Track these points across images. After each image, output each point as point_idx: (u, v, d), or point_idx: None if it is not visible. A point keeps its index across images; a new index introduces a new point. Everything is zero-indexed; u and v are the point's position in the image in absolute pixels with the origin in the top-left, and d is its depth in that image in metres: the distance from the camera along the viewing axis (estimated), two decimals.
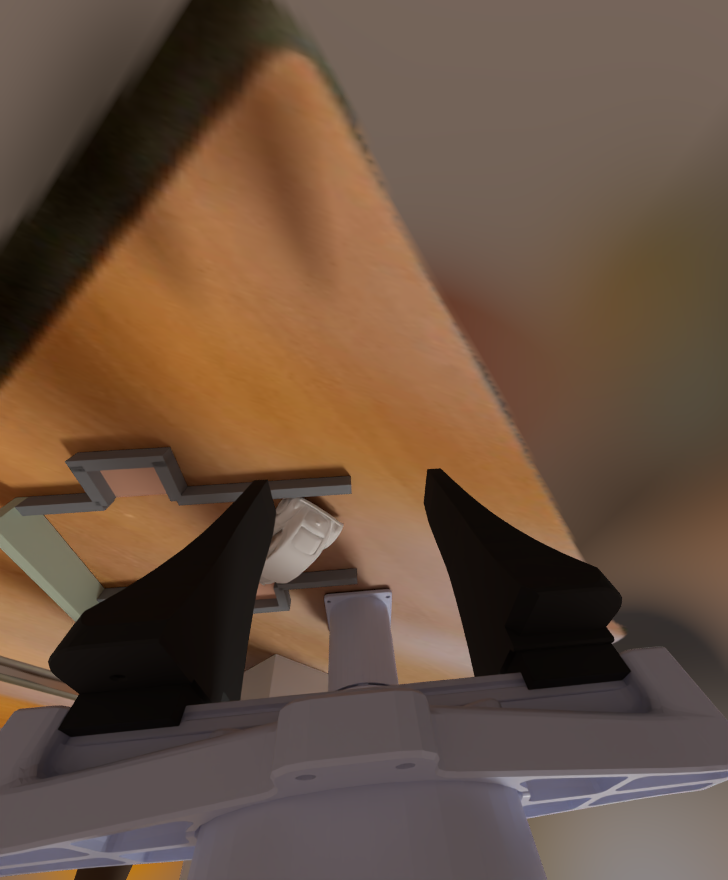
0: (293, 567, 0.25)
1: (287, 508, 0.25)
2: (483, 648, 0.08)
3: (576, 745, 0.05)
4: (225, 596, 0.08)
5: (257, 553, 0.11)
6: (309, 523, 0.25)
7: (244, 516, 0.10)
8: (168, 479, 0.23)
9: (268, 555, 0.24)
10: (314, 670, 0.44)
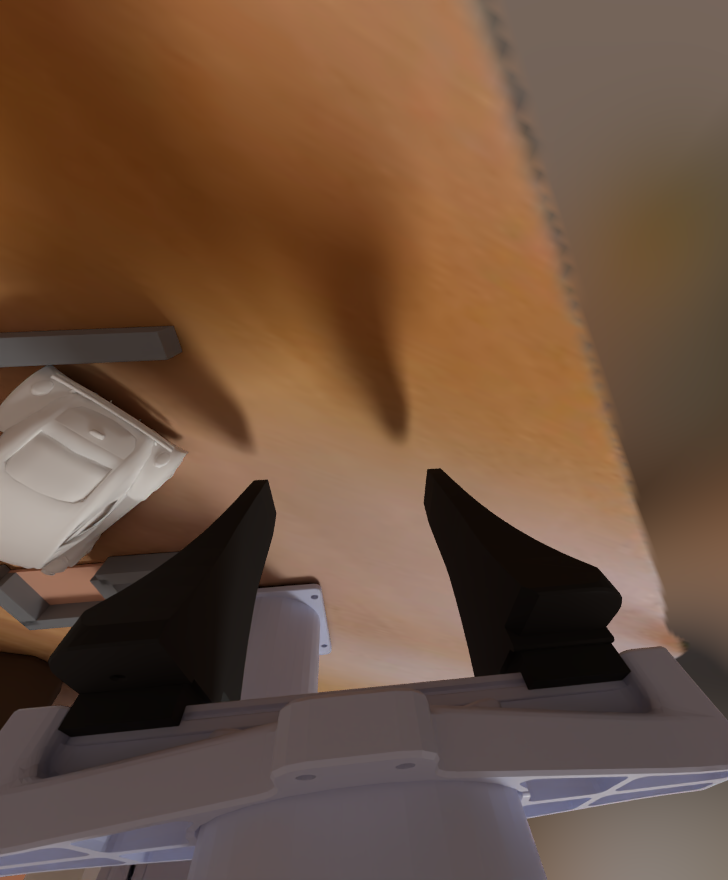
0: (28, 530, 0.11)
1: (15, 393, 0.11)
2: (483, 648, 0.08)
3: (576, 745, 0.05)
4: (225, 596, 0.08)
5: (257, 553, 0.11)
6: (68, 430, 0.11)
7: (244, 516, 0.10)
8: None
9: None
10: None
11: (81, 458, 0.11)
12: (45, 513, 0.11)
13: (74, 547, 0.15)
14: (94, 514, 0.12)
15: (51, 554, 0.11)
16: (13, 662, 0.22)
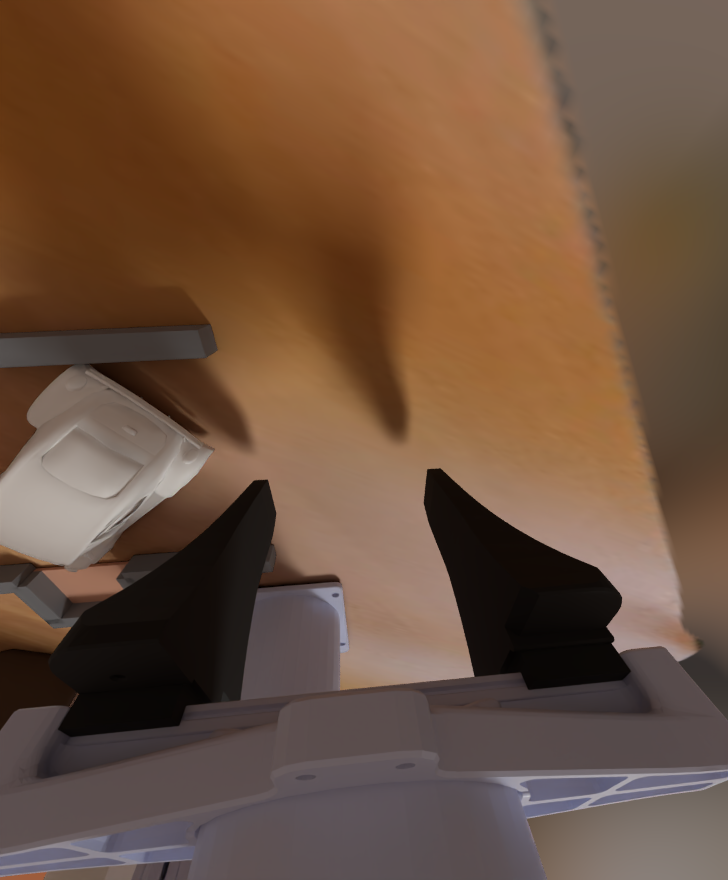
0: (62, 526, 0.11)
1: (50, 388, 0.11)
2: (483, 647, 0.09)
3: (576, 745, 0.05)
4: (225, 596, 0.08)
5: (257, 553, 0.11)
6: (102, 425, 0.11)
7: (244, 516, 0.10)
8: None
9: None
10: None
11: (115, 454, 0.11)
12: (79, 508, 0.11)
13: None
14: (125, 510, 0.12)
15: (82, 550, 0.11)
16: (34, 660, 0.22)
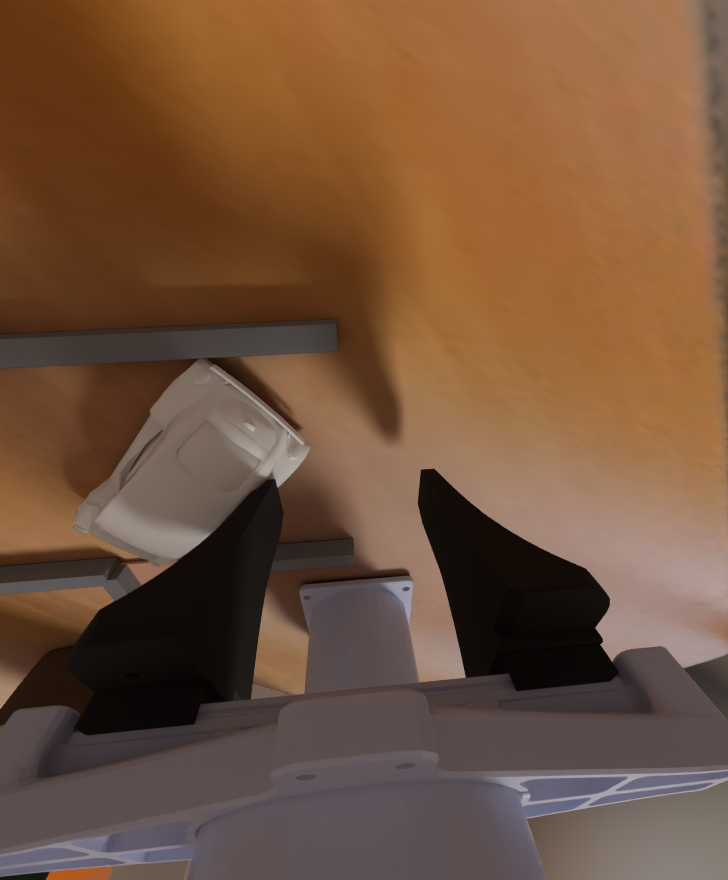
0: (186, 519, 0.11)
1: (178, 383, 0.11)
2: (473, 649, 0.08)
3: (576, 745, 0.05)
4: (236, 595, 0.08)
5: (265, 552, 0.11)
6: (227, 420, 0.11)
7: (253, 515, 0.10)
8: None
9: (123, 486, 0.10)
10: None
11: (238, 448, 0.11)
12: (205, 502, 0.11)
13: None
14: None
15: (197, 544, 0.12)
16: None
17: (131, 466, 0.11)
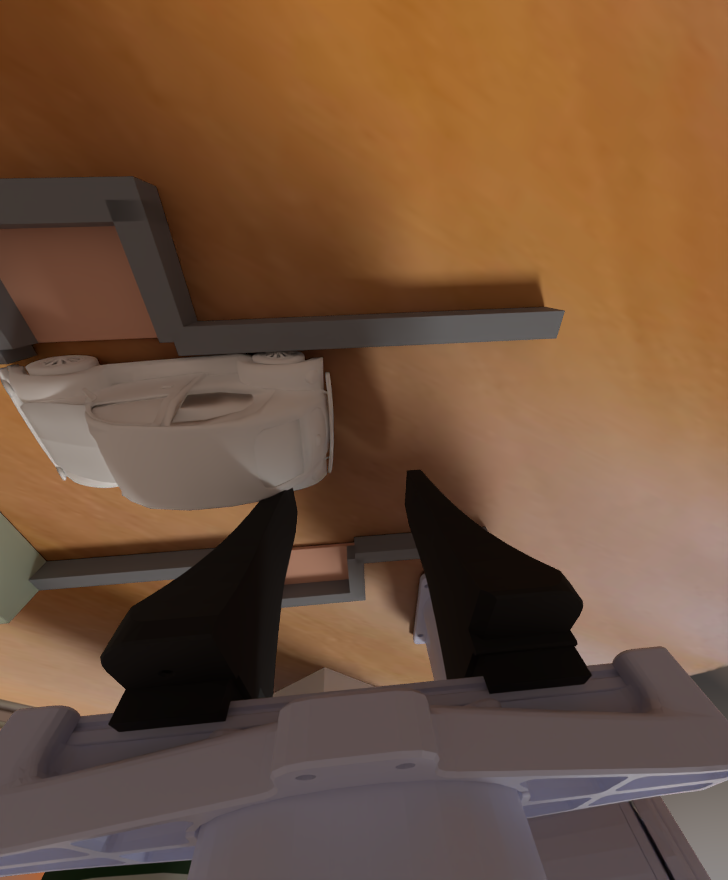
0: (207, 486, 0.10)
1: (294, 367, 0.10)
2: (452, 651, 0.08)
3: (576, 745, 0.05)
4: (260, 593, 0.08)
5: (283, 551, 0.11)
6: (310, 427, 0.11)
7: (273, 514, 0.10)
8: (152, 269, 0.09)
9: (177, 422, 0.09)
10: None
11: (300, 456, 0.11)
12: (241, 484, 0.10)
13: None
14: None
15: (188, 509, 0.10)
16: None
17: (186, 399, 0.10)
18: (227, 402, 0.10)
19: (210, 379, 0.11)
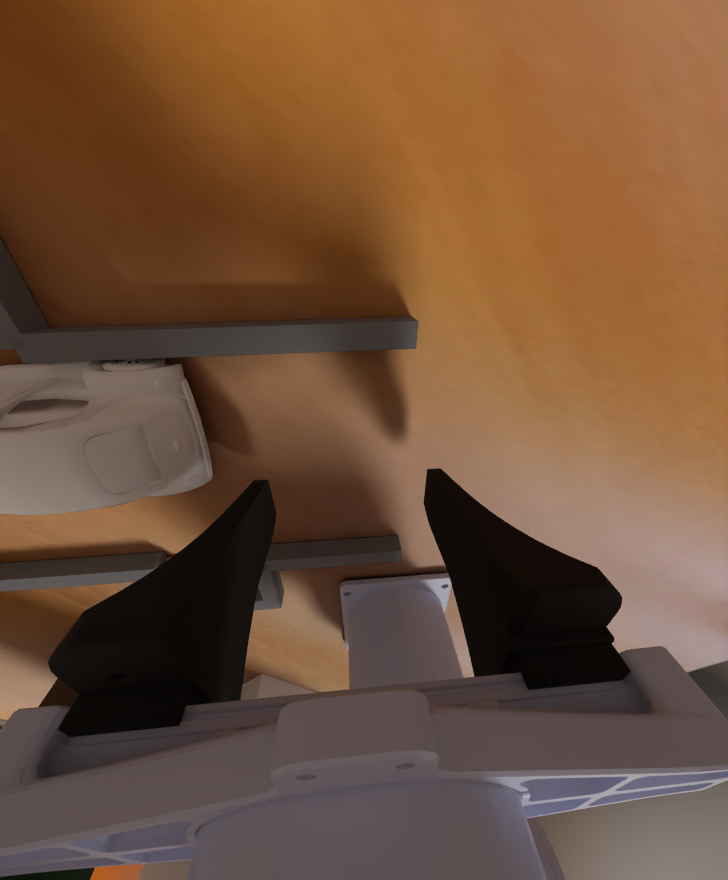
0: (41, 492, 0.10)
1: (139, 374, 0.11)
2: (483, 648, 0.08)
3: (576, 745, 0.05)
4: (225, 596, 0.08)
5: (257, 553, 0.11)
6: (161, 433, 0.11)
7: (244, 516, 0.10)
8: None
9: None
10: None
11: (152, 461, 0.11)
12: (78, 490, 0.10)
13: None
14: None
15: (30, 514, 0.10)
16: None
17: (17, 405, 0.10)
18: (57, 409, 0.10)
19: (61, 385, 0.11)
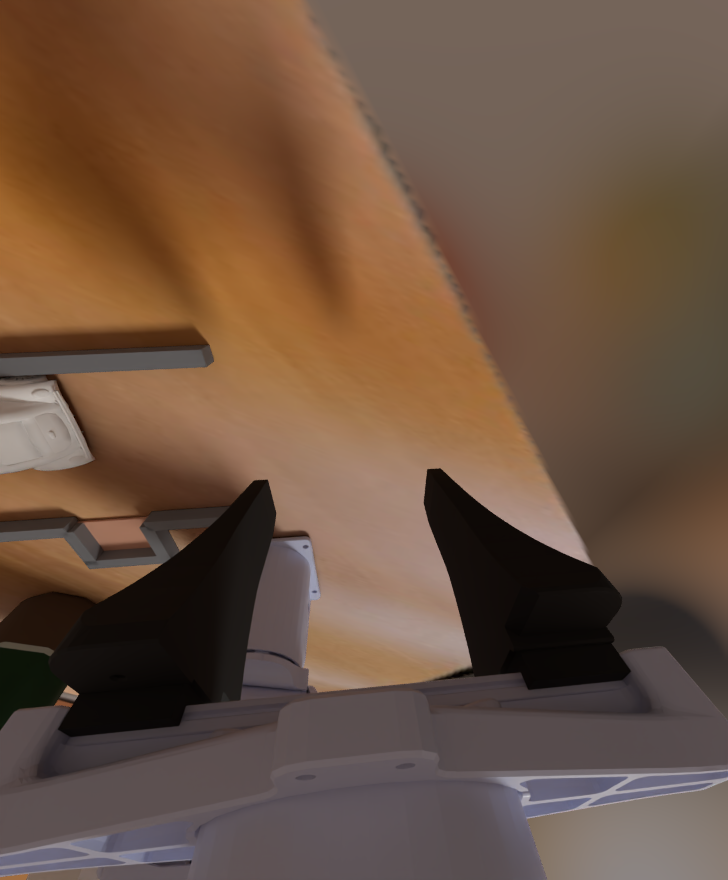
0: None
1: (20, 387, 0.16)
2: (482, 648, 0.08)
3: (576, 745, 0.05)
4: (225, 596, 0.08)
5: (257, 553, 0.11)
6: (37, 426, 0.17)
7: (244, 516, 0.10)
8: None
9: None
10: None
11: (31, 444, 0.17)
12: None
13: None
14: None
15: None
16: (70, 600, 0.28)
17: None
18: None
19: None
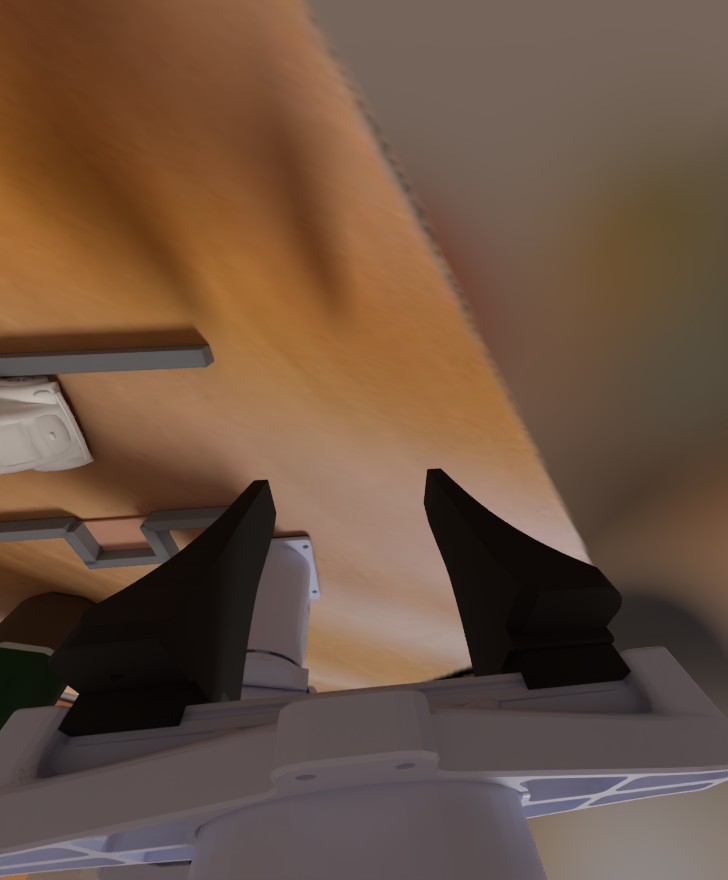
0: None
1: (22, 388, 0.16)
2: (482, 648, 0.08)
3: (576, 745, 0.05)
4: (225, 596, 0.08)
5: (257, 553, 0.11)
6: (38, 427, 0.17)
7: (244, 516, 0.10)
8: None
9: None
10: None
11: (31, 445, 0.17)
12: None
13: None
14: None
15: None
16: (70, 600, 0.28)
17: None
18: None
19: None
